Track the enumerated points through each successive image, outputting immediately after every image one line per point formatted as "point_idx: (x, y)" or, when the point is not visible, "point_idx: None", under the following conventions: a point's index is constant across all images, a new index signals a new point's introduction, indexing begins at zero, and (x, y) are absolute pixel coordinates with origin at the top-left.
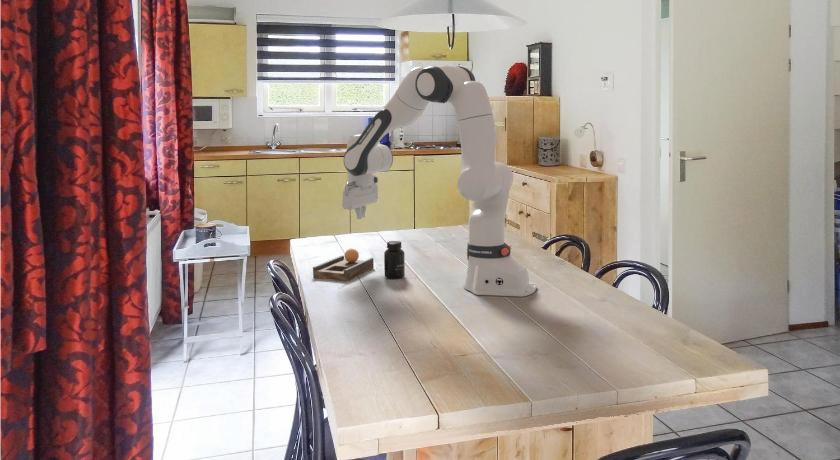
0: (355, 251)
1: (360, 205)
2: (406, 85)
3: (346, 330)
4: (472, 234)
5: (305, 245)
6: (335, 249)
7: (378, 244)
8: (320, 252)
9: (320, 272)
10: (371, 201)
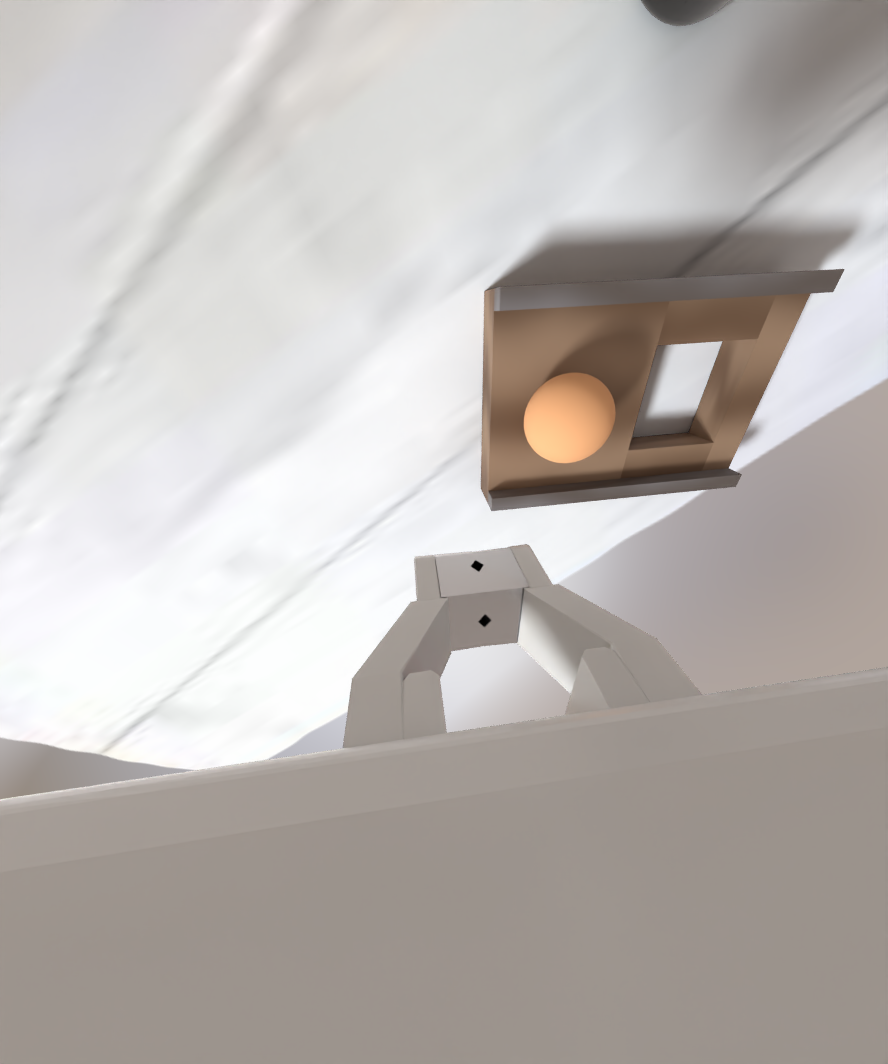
0: (594, 391)
1: (846, 714)
2: None
3: None
4: None
5: (281, 731)
6: (259, 652)
7: (23, 583)
8: (332, 660)
9: (734, 442)
10: (12, 884)
